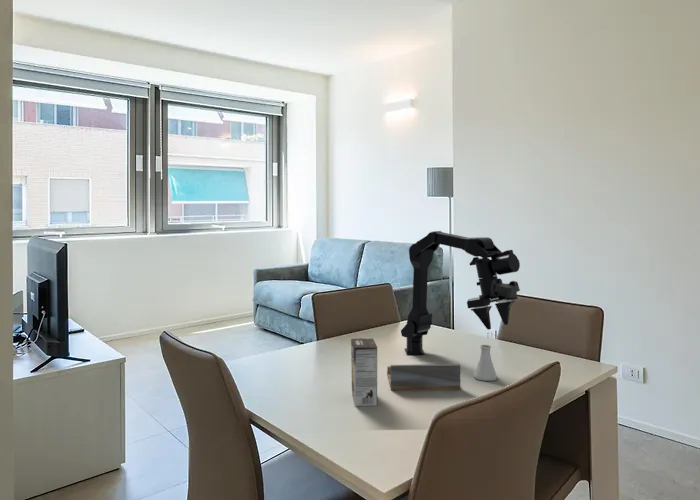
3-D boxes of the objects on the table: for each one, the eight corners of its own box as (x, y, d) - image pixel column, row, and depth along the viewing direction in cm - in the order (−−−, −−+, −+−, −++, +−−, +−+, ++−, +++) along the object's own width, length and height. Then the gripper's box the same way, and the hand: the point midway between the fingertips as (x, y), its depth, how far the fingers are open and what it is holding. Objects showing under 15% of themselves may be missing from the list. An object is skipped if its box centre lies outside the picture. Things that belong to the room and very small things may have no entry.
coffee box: (350, 394, 148) (350, 338, 146) (373, 393, 148) (373, 337, 147) (353, 406, 139) (353, 347, 137) (377, 405, 139) (377, 346, 138)
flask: (498, 382, 157) (498, 349, 156) (473, 381, 158) (473, 348, 157) (496, 374, 164) (497, 343, 163) (472, 373, 165) (473, 342, 164)
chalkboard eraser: (386, 374, 164) (386, 352, 164) (450, 373, 165) (450, 351, 164) (390, 390, 151) (390, 366, 150) (460, 389, 151) (460, 365, 150)
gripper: (492, 276, 151) (502, 330, 149) (526, 270, 163) (537, 320, 161) (461, 281, 159) (471, 332, 158) (496, 275, 171) (506, 323, 170)
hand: (497, 327), depth 161 cm, fingers open, 9 cm apart
